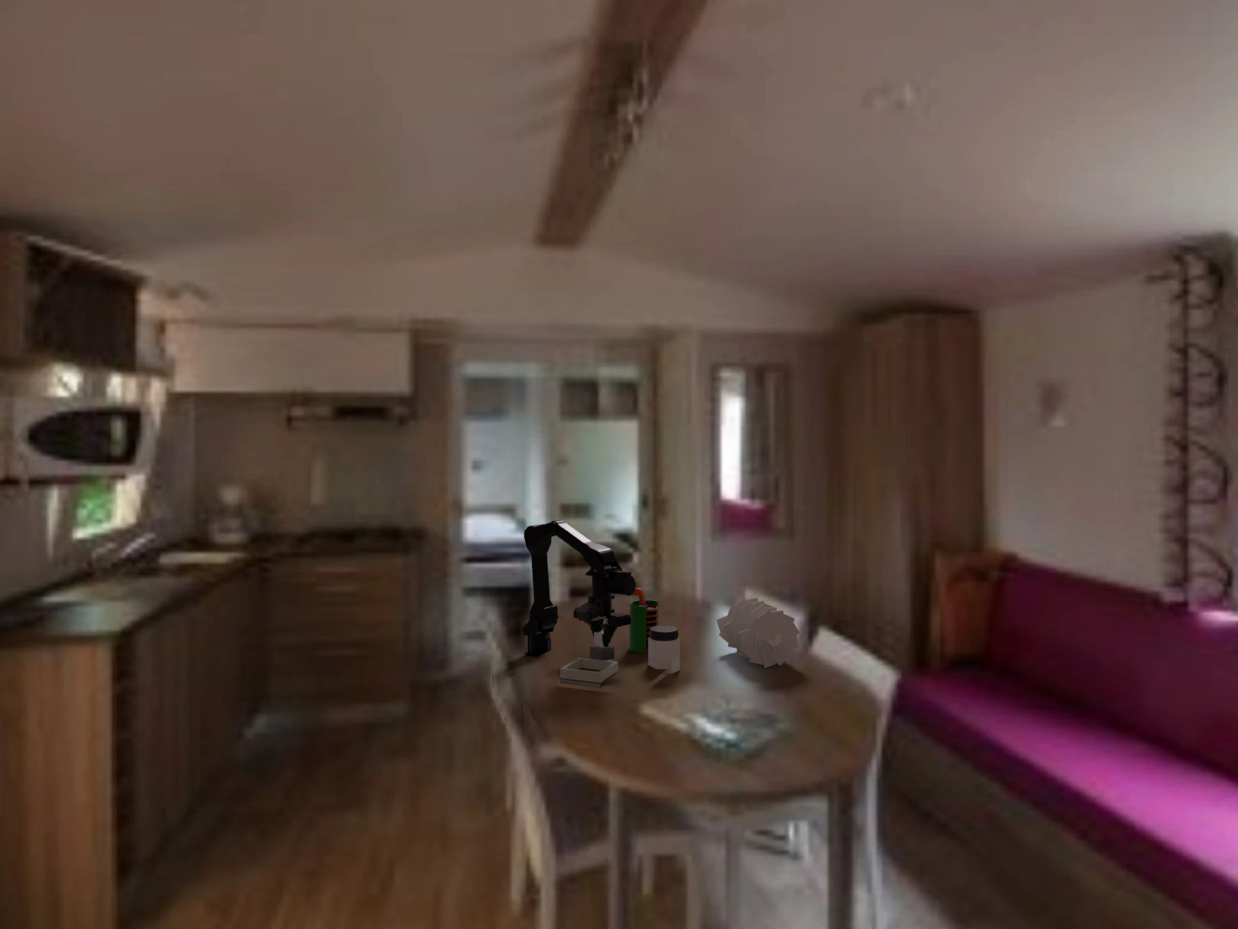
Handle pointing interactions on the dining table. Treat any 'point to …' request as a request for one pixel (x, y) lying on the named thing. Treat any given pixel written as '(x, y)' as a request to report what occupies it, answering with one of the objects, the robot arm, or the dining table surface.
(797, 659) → the dining table surface
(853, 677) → the dining table surface
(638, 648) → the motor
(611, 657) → the grey square peg
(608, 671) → the bin
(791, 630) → the spiral staircase
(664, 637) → the jar
